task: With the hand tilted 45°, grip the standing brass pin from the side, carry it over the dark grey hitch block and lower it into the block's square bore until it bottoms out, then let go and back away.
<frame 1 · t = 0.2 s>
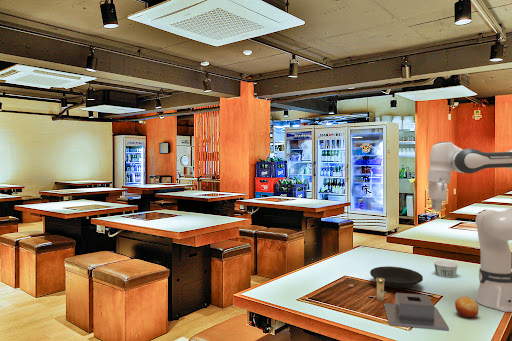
hand: (435, 210, 164), 39 cm above the table, tool pointing down, fingers open, 8 cm apart
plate: (395, 285, 184), on the table
food container: (445, 275, 201), on the table
fruit: (466, 316, 147), on the table
hitch block: (413, 317, 145), on the table
pin: (380, 299, 165), on the table
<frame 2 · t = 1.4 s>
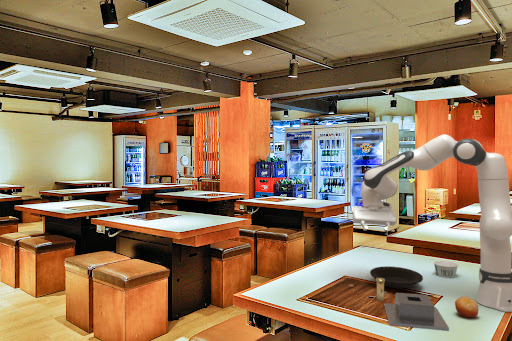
hand: (376, 230, 176), 28 cm above the table, tool tilted 45°, fingers open, 8 cm apart
nothing on the table moved.
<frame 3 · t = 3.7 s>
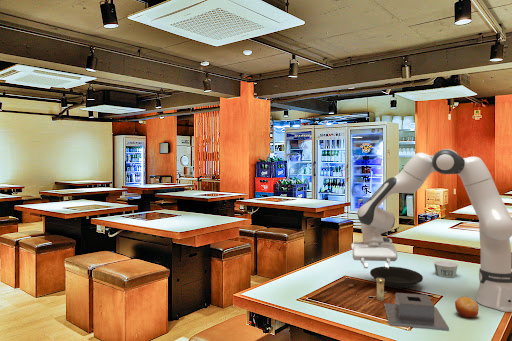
hand: (376, 268, 173), 12 cm above the table, tool tilted 45°, fingers open, 8 cm apart
nothing on the table moved.
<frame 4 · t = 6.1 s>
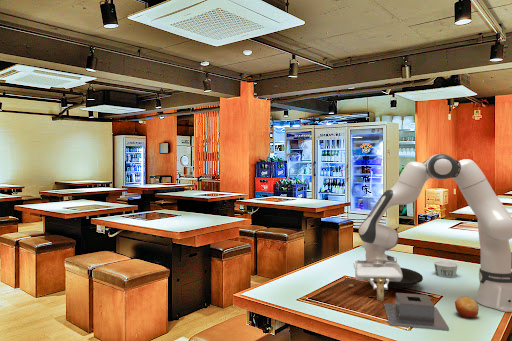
hand: (380, 289, 164), 5 cm above the table, tool tilted 45°, fingers closed on pin, 3 cm apart
pin: (380, 299, 165), on the table, touching gripper
everything else where it was.
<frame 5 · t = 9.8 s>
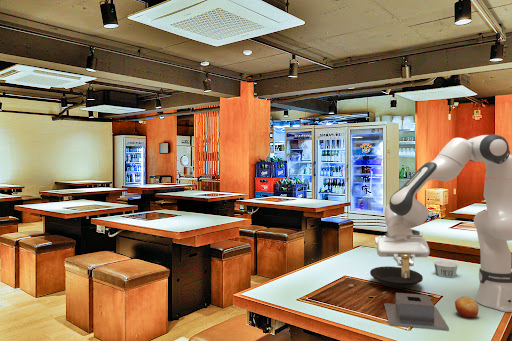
hand: (405, 265, 149), 19 cm above the table, tool tilted 45°, fingers closed on pin, 3 cm apart
pin: (405, 276, 150), point 14 cm above the table, touching gripper
everything else where it was.
when the fingers open (8 cm above the table, at t = 13.1 s): pin stays where it is, point 3 cm above the table.
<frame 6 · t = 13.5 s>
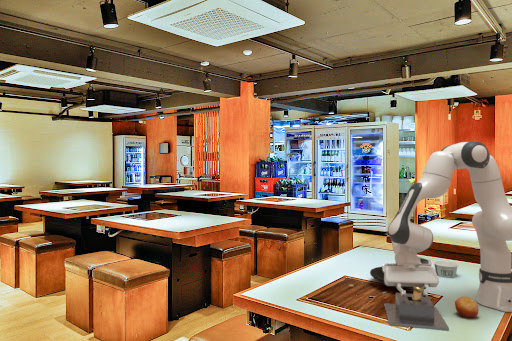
hand: (414, 296, 145), 8 cm above the table, tool tilted 45°, fingers open, 7 cm apart
pin: (413, 309, 146), point 3 cm above the table, tilted 13°, touching gripper
everything else where it was.
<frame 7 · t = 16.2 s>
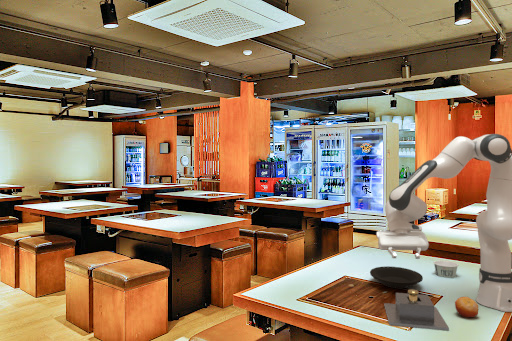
hand: (406, 257, 156), 20 cm above the table, tool tilted 45°, fingers open, 8 cm apart
pin: (413, 314, 146), point 1 cm above the table, touching hitch block
everything else where it was.
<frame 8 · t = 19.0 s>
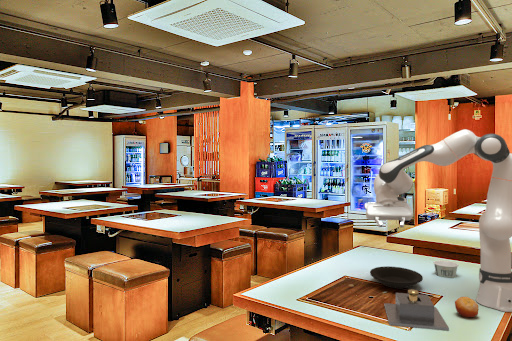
hand: (391, 226, 168), 31 cm above the table, tool tilted 45°, fingers open, 8 cm apart
nothing on the table moved.
at the end: pin 0.4 cm off-centre on the hitch block, point 1.0 cm above the hitch block's base; pin tilted 0°; the gripper is holding nothing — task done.
